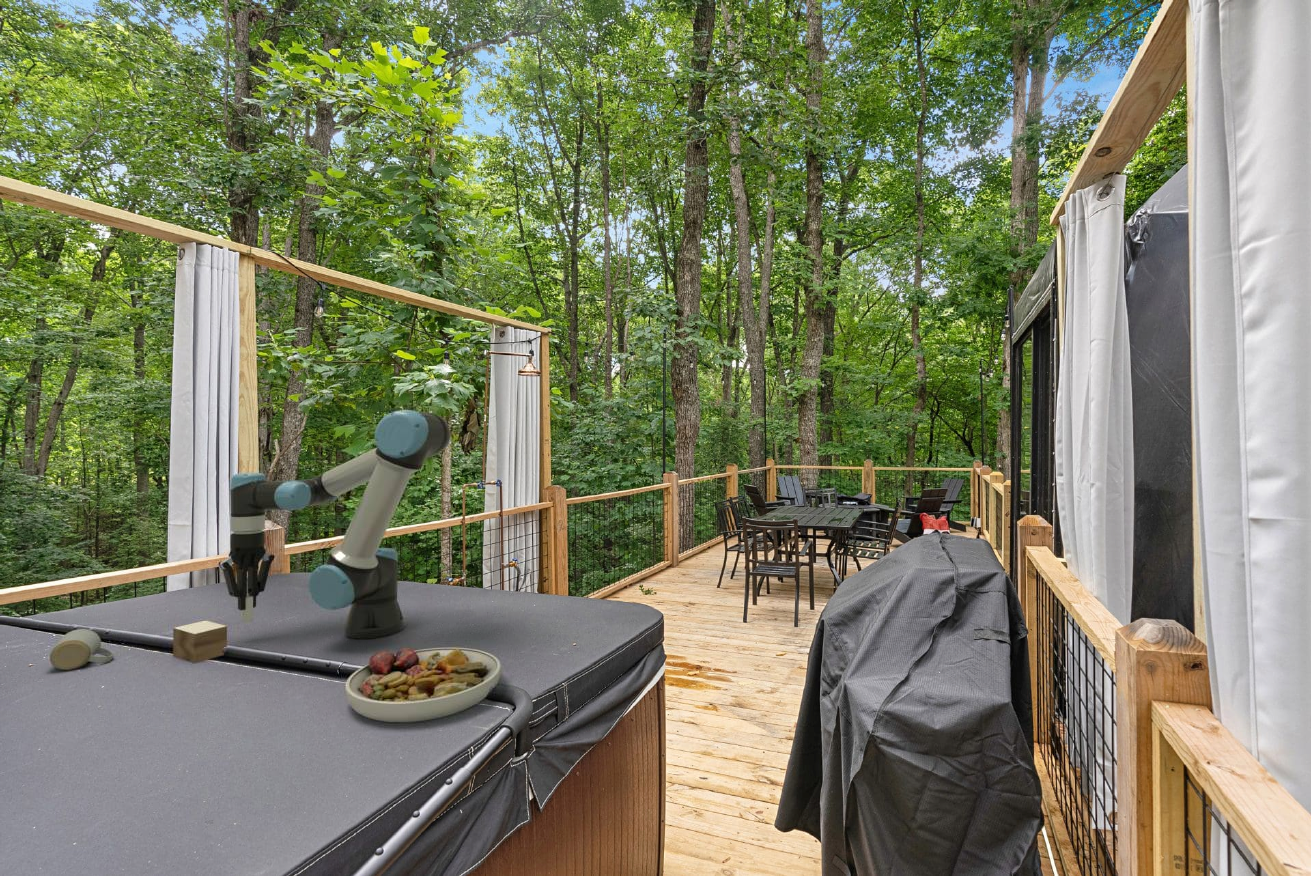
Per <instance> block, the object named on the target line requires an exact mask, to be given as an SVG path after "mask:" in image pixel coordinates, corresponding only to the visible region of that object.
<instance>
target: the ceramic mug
mask: <svg viewBox="0 0 1311 876" xmlns="http://www.w3.org/2000/svg"><path fill="white" fill-rule="evenodd" d="M101 641H102V640H101V637H100V636H99V634H97V632H95V631H93V630H91V629H85V628H78V629H74V630H71V631H69V632H67V633H66V634H64V635H63V636H62V637H61V638H60V639H59V640H58V642H57V643H56V644H55V646H54V647H53V648H52V649H51V651H50V656H49V662H50V663H51V665H52V666H53V667H54V668H56V669H58V670H61V671H70V670H75V669H78V668H81V667H82V666H84V665H86V664H87V663H88V662H91V663H96V664H105V663H109V662H111V661H112V660H113V659H114V656H115V652H114V651H113V650H110V649H109V648H106V647H103V646H101V644H102V642H101ZM96 654H97V655H96ZM101 655H102V656H101Z"/></svg>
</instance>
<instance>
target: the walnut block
mask: <svg viewBox="0 0 1311 876" xmlns="http://www.w3.org/2000/svg"><path fill="white" fill-rule="evenodd" d="M172 629H173V630H172V631H173V632H172V633H173V634H172V637H173V638H172V656H173V657H175V658H177V659H181V660H184V661H187V662H190V663H193V664H196V663H201V662H204V661H207V660H210V659H211V660H212V659H214V658H218V657H221V656H224V653H223V652H222V648H224V647H227V648H228V626H227V625H224V624H221V623H220V624H219V623H216V622H213V621H209V620H203V621H198V622H193V623H189V624H185V625H181V626H177V627H173V628H172Z"/></svg>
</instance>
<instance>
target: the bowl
mask: <svg viewBox="0 0 1311 876" xmlns="http://www.w3.org/2000/svg"><path fill="white" fill-rule="evenodd" d="M501 669H502V667H501V661H500V660H499V659H498V658H497V657H496V656H495V655H493V654H491V653H489V652H486V651H483V650H480V649H474V648H469V647H468V648H466V647H435V648H434V647H433V648H423V649H417V650H414V649H413V648H411V647H403V648H401V649H399V650H398V652H396V654H394V652H393V651H391V650H388V649H381V650H380V651H377V652H375V653H374V654H373V655H372V656H371V657H370V658H369V662H368V664H366V665H364V666H362V667H360V668H359V669H357V670H356V671H354V672H353V673H352V674H350V676H349V677H348V678H347V679H346V682H345V684H344V685H345V692H344V693H345V698H346V700H347V703H348V704H349V705H350V707H351V708H352V709H353V711H355V712H356V713H358V714H359V715H361V716H363V717H365V718H368V719H371V720H376V721H378V722H379V721H380V722H388V723H415V722H423V721H429V720H430V721H431V720H434V719H440V718H444V717H447V716H451V715H455V714H457V713H460V712H462V711H464V710H467V709H469V708H471V707H473V706H474V705H476V704H478V703H480V702H481V701H482V700H484V699H485V698H487V697H488V696H487V694H488V692H489V689H490V687H491V686H493V685H495V684H496V685H497V684H498V683H499V680H500V676H501V671H502V670H501Z"/></svg>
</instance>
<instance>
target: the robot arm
mask: <svg viewBox="0 0 1311 876" xmlns="http://www.w3.org/2000/svg"><path fill="white" fill-rule="evenodd" d="M374 439H375V441H376V448H373V449H371V450H368V451H367V452H365V453H363V454H361V455H358V456H357V457H353V459H351V460H348V461H346V462H344V463H342V464H340V465H337V466H335V467H334V468H332V469H330V470H327V471H325V472H323V473H321V474H319V475H318V476H314V477H313V478H312V477H311V478H305V479H295V480H293V479H292V480H271V481H270V480H267V479H266V474H264V473H261V472H247V473H245V472H244V473H235V474H233V475H232V477H231V481H230V482H231V483H230V489H229V492H230V532H231V534H230V536H229V541H230V545H229V547H230V552H229V553H228V558H226V559H224V560H223V561H222V560H221V561H219V562H218V566H219V567H220V568H221V570H222V573H223V575H224V580H225V585H226V587H227V591H228V594H229V596H230V597H234V598H237V609H238V610H239V611H240V622H242V623H245V624H246V623H253V620H254V608H256V607H257V597H258V596H259V594H260V593H263V592H264V591H265V590H266V585H267V582H268V581H267V580H268V577H269V574H270V569H271V565H272V562H273V561H274V560H275V558H276V556H275V554H270V553H268V552H267V551H266V550H267V549H266V548H265V543H266V540H265V539H266V535H265V534H266V532H265V531H263V530H265V529H266V525H265V524H266V510H272V511H273V510H276V511H277V510H279V511H288V512H290V511H300V510H304V508H306V507H312V506H323V505H327V504H329V503H333V502H335V501H336V500H337V499H338V497H339V496H340V495H343V494H345V493H347V492H349V491H351V490H353V489H356V488H358V487H360V486H362V485H365V484H366V483H367V485H366V487H365V490H364V492H363V495H362V496H361V499H360V501H359V503H358V505H357V508H356V510H355V513H354V514H353V516H352V519H351V521H350V524H349V526H348V528H347V530H346V532H345V534H344V536H343V539H342V541H341V543H340V544H339V545H336V546H334V547H332V548H331V550H330V552H329V554H328V556H327V558H326V561H325V563H324V564H322V565H321V564H320V565H319V566H317V567H316V568H315V569H314V570H313V571H312V572H311V573H310V575H309V578H308V581H307V582H308V584H307V589H308V593H309V594H310V595H311V599H312V600H313V602H314V603H315V604H317V605H318V606H319V607H320V608H322V609H324V610H327V611H328V610H329V611H336V610H340V609H345V608H347V607H349V606H350V608H349V611H348V613H347V616H346V620H345V624H344V625H343V635H344V636H345V637H347V638H350V639H375V638H382V637H386V636H391V635H394V634H396V633H399V632H400V631H402V630H403V629H404V627H405V621H404V620H405V618H404V617H403V613H402V610H401V607H400V605H399V602H398V573H399V572H398V570H399V569H398V568H399V566H398V565H399V564H398V563H399V559H398V551H397V550H396V549H395V548H389V547H380V545H381V543H382V541H383V539H384V536H385V534H386V532H387V531H388V530H387V529H388V527H389V525H390V523H391V520H392V518H393V517H394V514H395V512H396V510H397V508H398V506H399V503H400V501H401V499H402V497H403V494H404V493H405V489H406V488H407V486H408V483H409V481H410V479H411V477H412V475H413V474H414V473H416V472H418V471H421V469H422V467H423V465H424V464H425V461H426V459H429V458H430V457H433V456H436V455H439V454H440V453H442V452H443V451H444V450H445V449H446V448H447V447H448V445H449V443H450V441H451V427H450V426H449V424H448V423H447V421H446V419H444V418H443V417H442V416H441V415H439V414H436V413H433V412H424V411H415V410H412V409H411V410H410V409H402V410H395V411H392V412H390V413H387V414H386V415H385V416H383V417H382V419H380V421H379V422H378V424H377V425H376V428H375V432H374ZM261 560H262V561H261ZM260 562H261V563H260ZM259 564H260V565H259ZM233 565H235V566H236V567H235V571H236V576H235V571H234V569H233V567H232V566H233ZM258 570H259V571H258Z"/></svg>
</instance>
